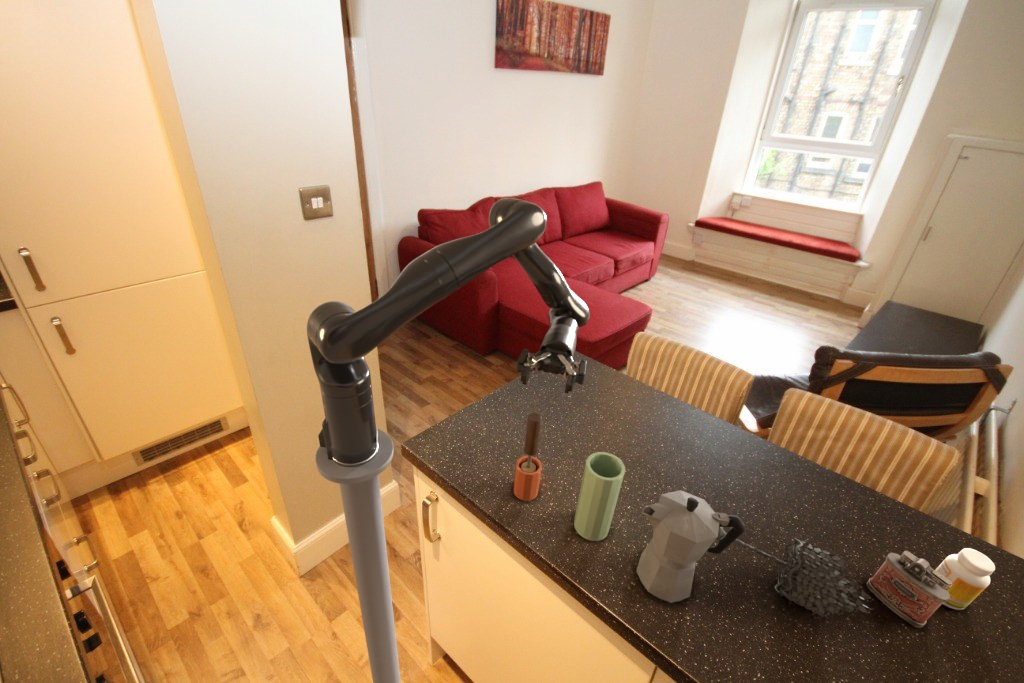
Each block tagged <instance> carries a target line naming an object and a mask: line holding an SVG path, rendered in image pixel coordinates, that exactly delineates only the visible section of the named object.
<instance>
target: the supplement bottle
mask: <svg viewBox="0 0 1024 683" xmlns="http://www.w3.org/2000/svg"><path fill="white" fill-rule="evenodd" d="M935 570H936V571H937V572H938V573H940V574H941V575H943V576H944V577H945V578H947V579H948V580H949V581H951V583H952V586H951V587H950V588H949V589H948V590H947V591H948V593H949V594H950V598H949V600H948V601H947V602H945V603H942V604H941V605H943V606H945V607H948V608H949V609H953V610H956V611H961V610H965V609H967V607H968V606H969V605H970V604H972V603H973V601H974V600H975V599H976V598H977V597H978V596H979V595H980V594H981V593H982V592H984V591H985V589H987V588H988V587H989V585H990V584H991V577H990V576H991V575H992V574H993V573H994V572H995V571H996V565H995V563H994V562H993V561H992V560H991V558H989V557H988V556H987V555H986V554H984V553H982V552H980V551H978V550H976V549H974V548H970V547H964V548H962V549H961V550H960V551H959V552H958V553H953V554H952V553H951V554H949V555H948V556H946V557H945V559H943V561H942V562H941V563H940V564H939V565H938V566H937V567H936V568H935Z"/></svg>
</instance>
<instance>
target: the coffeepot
mask: <svg viewBox="0 0 1024 683" xmlns="http://www.w3.org/2000/svg"><path fill="white" fill-rule="evenodd" d="M641 514H642V515H645V517H646V518H647V520H648V522H649V523H650V525H651V527H652V529H653V533H652V538H651V539H650V541H649V542H648V544H647V545H646V546H645V548H644V550H643V551H642V553H641V554H640V556H639V560H638V564H637V567H636V571H635V572H636V574H637V576H638V578H639V580H640V582H641V584H642V585H643V587H644V588H645V590H646V591H647V592H648V593H649V594H651V595H652V596H654V597H656V598H658V599H659V600H662V601H665V602H668V603H670V604H673V603H676V602H681V601H683V600H685V599H688V598H690V597H691V593H692V587H693V581H694V575H695V570H696V564H697V562H699V561H700V560H701V559H702V558H703V556H704V555H705V553H706V552H708V553H711V554H716V555H720V554H721V553H723V552H724V551H725V550H726V549H727V548H729V547H730V546H731V545H732V544H734V543H735V542H734V541H735V540H736V539H739V538H740V537H741V536H742V535H744V533H745V532H746V525H745V523H744V522H743V520H742V518H740V517H739V516H738V515H734V514H730V515H729V514H727V513H726V512H719V511H718V512H717V511H716V512H715V511H714V509H713V508H712V507H711V506H710V505H709V503H708V502H707V501H706V500H705V499H704V498H701V497H699V496H696V495H694V494H691V493H689V492H686V491H684V490H681V489H680V490H674V491H671V492H666V493H661V494H660V496H659V499H658V501H657V503H653V504H649V505H645V506H644V507H643V508H642V510H641ZM719 527H723V528H730V529H728V531H727V532H726V533H727V534H726V535H725V536H724V537H722V538H720V539H719V541H718V543H717V545H714V546H712V545H713V543H714V542H715V541H716V540H715V539H716V538H717V537H718V531H719Z"/></svg>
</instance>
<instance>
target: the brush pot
mask: <svg viewBox="0 0 1024 683" xmlns="http://www.w3.org/2000/svg"><path fill="white" fill-rule="evenodd" d="M527 461H528V455H524V456H520V457H519V458H518V459H517V461H516V462H515V471H514V480H513V494H514V496H515V497H516V498H517V499H519V500H521V501H523V502H529V501H532V500H534V499H536V498H537V496H538V494H539V491H540V490H539V489H540V483H541V476H542V469H543V468H542V466H543V465H542V462H541V461H540V460H539V459H538V458H537V457H535V456H534V455H533V456H532V459H531V462H532V463H534V464H535V466H536V472H533V473H526V472H524V471H522V470H521V465H522V464H523V463H524V462H527Z"/></svg>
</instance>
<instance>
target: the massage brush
mask: <svg viewBox="0 0 1024 683" xmlns="http://www.w3.org/2000/svg"><path fill="white" fill-rule="evenodd" d="M727 533H728V532H726V531H725V529H724V527H719V531H718V537H717V538H716V539H715V541H716V540H720V539H721V538H722V537H724V536H725V535H726V534H727ZM792 538H793V542H789V543H787V544H786V546H784V547H785V548H784V555H783V556H782V560H780V559H778V558H777V557H776V556H775V555H770V554H769V553H766V552H764V551H762V550H761V549H758V547H754V546H753V545H750V544H748V543H745V542H743V541H742V540H740V539H739V538H737V539H736V540H735V541H734V542H733V543H736V544H737V545H739V546H740V547H743V548H745V549H748V550H749V551H751V552H754V553H755V554H757V555H759V556H761V557H763V558H764V559H768V560H770V561H773V562H774V563H775V564H776V565H778V566H777V571H776V572H777V575H778V576H777V584H775V585H774V590H775V591H776V592H777V593H778V594H780V595H781V596H783V597H784V598H786V599H788V601H790V602H794V603H795V604H796V605H799V606H801V607H804V608H805V609H806V610H809V611H810V612H811V611H812V613H814V614H816V615H818V616H820V617H821V618H826V619H827V620H828V619H829V617H828V616H829V615H830V614H832V615H834V614H836V615H838V616H839V615H842V614H843V613H844V612H848V613H851V612H853V613H854V614H855V613H856V612H858V611H861V612H862V613H868V614H871V612H870V611H868V610H867V609H870V610H871V611H873V608H872V607H871V608H870V607H869V606H867V605H865V604H863V602H862V601H866V602H867V603H868V602H869V600H870V599H871V600H872V601H875V599H874V598H872V597H871V596H870V595H869V594H867V593H866V592H865V591H864V590H863V586H860V584H859V583H858V582H856V581H855V579H854V575H853V572H851V571H849V569H848V567H849V564H848V563H847V562H845V560H844V559H841V558H840V557H839V556H838V555H836V554H832V553H830V552H829V551H827V550H824V549H821V548H820V547H818V546H814V545H812V544H811V543H809V542H806V541H805V540H802V539H798V538H795V537H792ZM798 543H799V544H798ZM795 545H796V546H795ZM789 549H790V550H789ZM845 565H846V566H845ZM850 576H851V577H852V578H851V577H850ZM850 579H851V580H850ZM779 586H781V587H779ZM860 588H861V589H860ZM847 594H849V595H852V597H853V598H856V599H857V600H855V599H853V598H852V597H849V595H847ZM858 598H859V599H858ZM860 599H861V600H862V601H861V600H860ZM854 602H855V603H854ZM866 608H867V609H866ZM840 610H843V611H841V612H840ZM828 612H829V613H828Z"/></svg>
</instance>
